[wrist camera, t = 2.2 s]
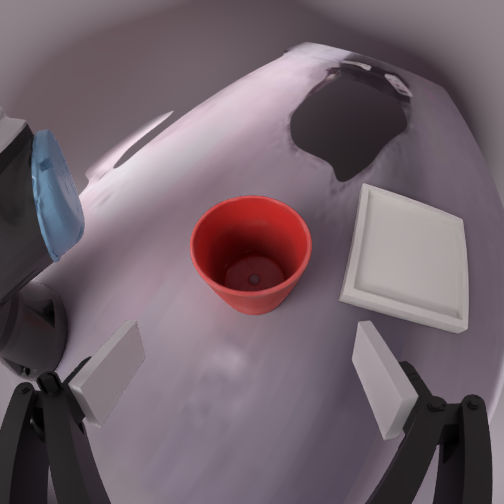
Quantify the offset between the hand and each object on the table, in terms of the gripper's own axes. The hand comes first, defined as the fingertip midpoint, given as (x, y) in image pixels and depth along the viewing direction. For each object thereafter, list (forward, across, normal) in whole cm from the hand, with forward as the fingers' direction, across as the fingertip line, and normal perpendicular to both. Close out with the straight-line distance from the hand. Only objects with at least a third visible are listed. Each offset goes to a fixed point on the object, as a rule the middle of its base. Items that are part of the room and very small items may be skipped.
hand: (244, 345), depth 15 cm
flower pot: (+17, 0, -3) cm, 18 cm away
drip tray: (+19, +21, -1) cm, 28 cm away
